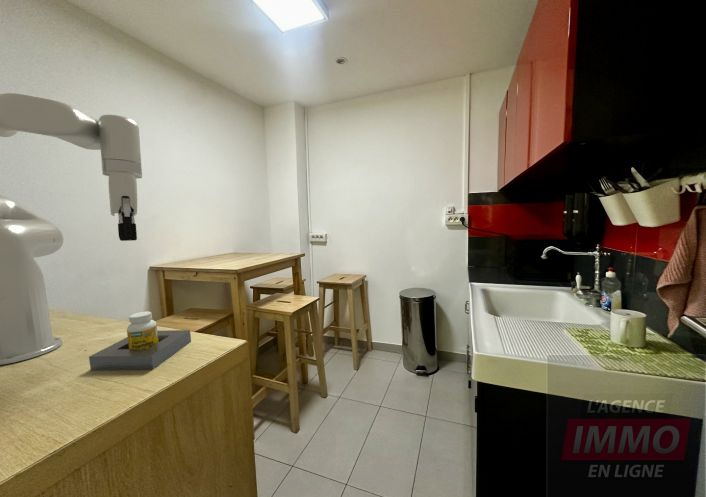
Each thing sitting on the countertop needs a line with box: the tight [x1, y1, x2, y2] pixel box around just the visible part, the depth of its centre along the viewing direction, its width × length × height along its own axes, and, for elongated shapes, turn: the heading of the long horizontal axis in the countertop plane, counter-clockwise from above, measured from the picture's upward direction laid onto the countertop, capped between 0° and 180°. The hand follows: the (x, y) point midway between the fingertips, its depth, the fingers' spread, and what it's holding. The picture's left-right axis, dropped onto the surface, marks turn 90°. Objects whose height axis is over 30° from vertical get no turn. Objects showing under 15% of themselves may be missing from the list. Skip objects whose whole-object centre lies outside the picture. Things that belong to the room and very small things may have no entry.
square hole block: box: [88, 329, 192, 372], centre depth 63 cm, size 13×13×3 cm
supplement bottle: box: [126, 311, 159, 349], centre depth 62 cm, size 5×5×10 cm
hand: (127, 239), depth 69 cm, fingers open, 9 cm apart
